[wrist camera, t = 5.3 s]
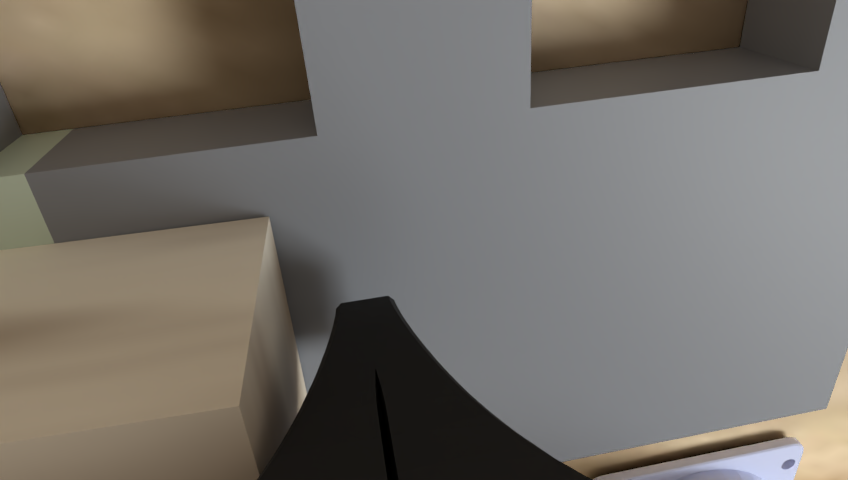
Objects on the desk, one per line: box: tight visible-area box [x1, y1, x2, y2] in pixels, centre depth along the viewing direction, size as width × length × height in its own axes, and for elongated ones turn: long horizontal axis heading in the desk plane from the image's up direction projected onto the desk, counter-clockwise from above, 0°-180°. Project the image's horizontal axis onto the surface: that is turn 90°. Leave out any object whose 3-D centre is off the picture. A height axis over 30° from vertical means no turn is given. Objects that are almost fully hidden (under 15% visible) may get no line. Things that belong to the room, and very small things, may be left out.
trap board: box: [0, 0, 848, 462], centre depth 12 cm, size 18×24×2 cm
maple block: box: [0, 217, 307, 480], centre depth 10 cm, size 5×5×5 cm
